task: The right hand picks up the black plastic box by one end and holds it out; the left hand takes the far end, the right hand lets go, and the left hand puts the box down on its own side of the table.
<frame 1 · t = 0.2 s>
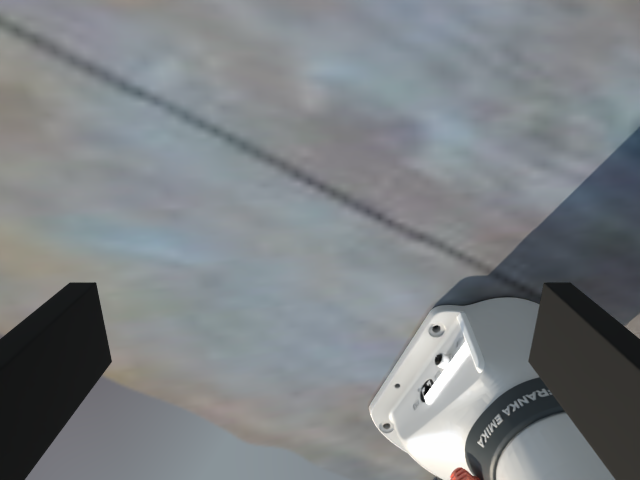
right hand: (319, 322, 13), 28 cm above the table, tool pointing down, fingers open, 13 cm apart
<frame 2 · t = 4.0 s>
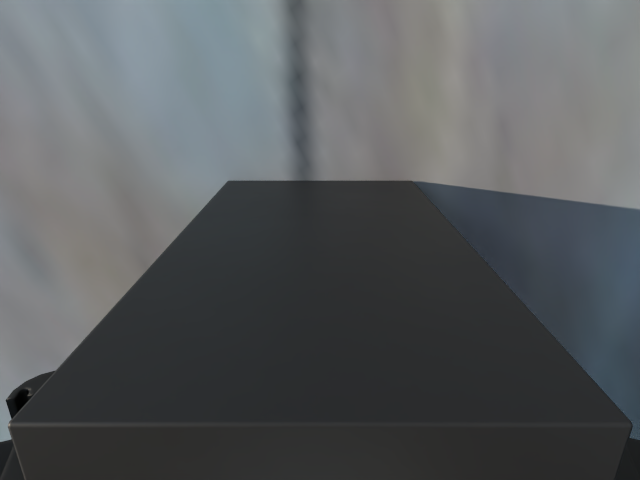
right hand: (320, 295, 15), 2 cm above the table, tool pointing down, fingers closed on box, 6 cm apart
box: (320, 466, 20), on the table, touching right hand
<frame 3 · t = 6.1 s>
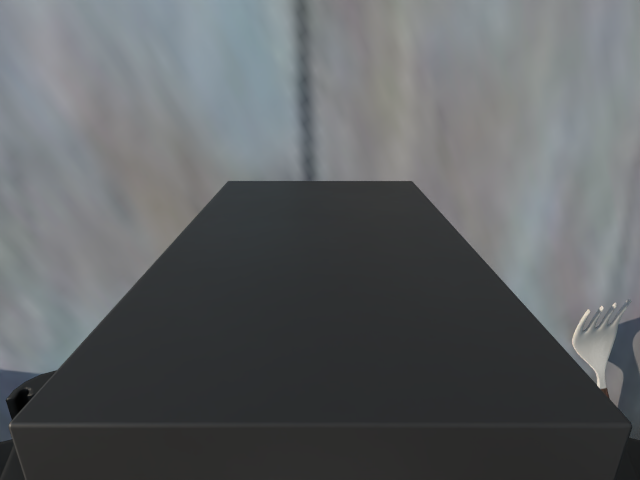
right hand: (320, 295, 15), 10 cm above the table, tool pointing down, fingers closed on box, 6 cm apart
box: (320, 466, 20), point 8 cm above the table, touching right hand
fork: (596, 393, 28), on the table
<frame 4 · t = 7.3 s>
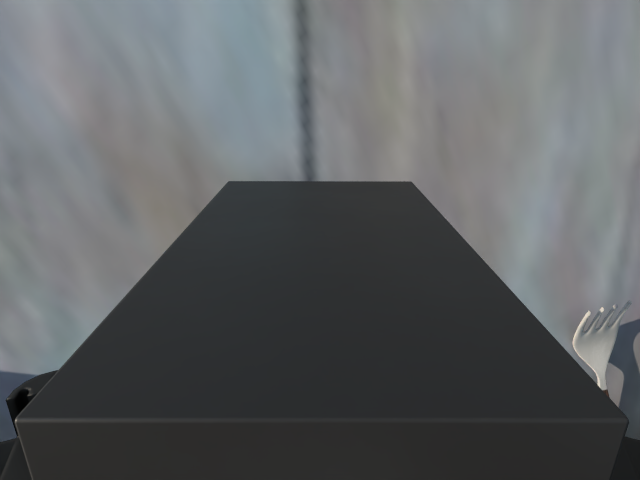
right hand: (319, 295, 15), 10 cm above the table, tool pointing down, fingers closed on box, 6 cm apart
box: (319, 466, 20), point 8 cm above the table, touching right hand, left hand
fork: (597, 395, 28), on the table
when the right hand's fingers open (10 cm above the table, at t = 8.5 s): box stays where it is, held by the left hand.
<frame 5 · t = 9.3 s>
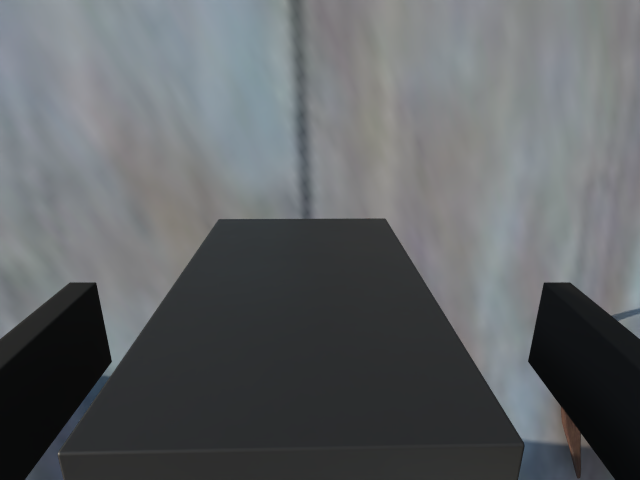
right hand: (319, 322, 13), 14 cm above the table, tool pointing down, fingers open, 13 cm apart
fork: (562, 388, 31), on the table
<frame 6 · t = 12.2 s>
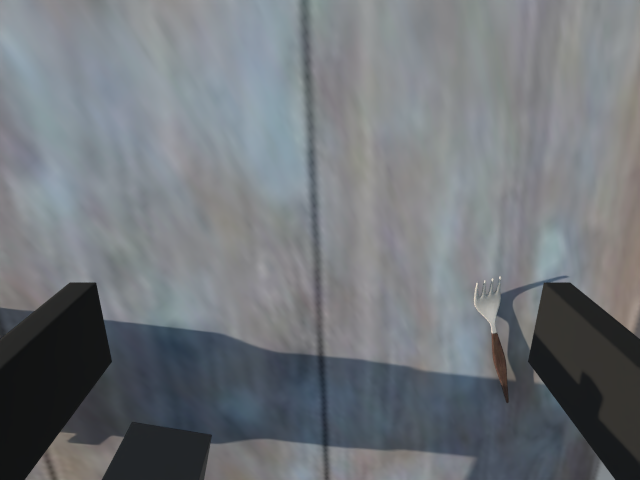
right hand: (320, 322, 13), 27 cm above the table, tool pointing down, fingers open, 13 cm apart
fork: (493, 337, 44), on the table
when the left hand's fingers open (8 cm above the table, at t = 17.1 s): box stays where it is, on the table.
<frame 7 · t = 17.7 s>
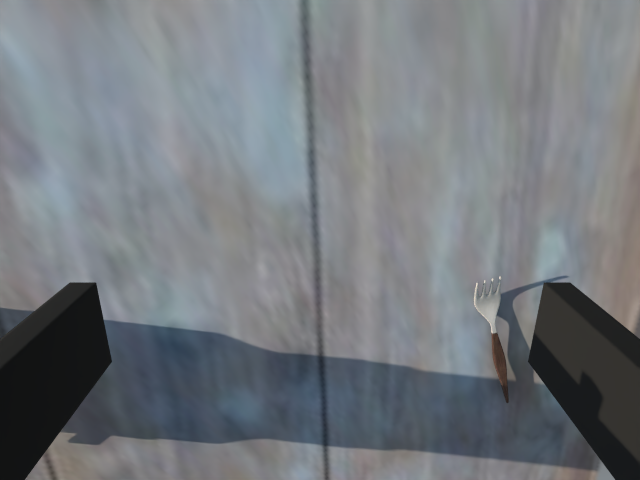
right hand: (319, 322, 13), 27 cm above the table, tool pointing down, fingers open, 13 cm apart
fork: (493, 337, 44), on the table
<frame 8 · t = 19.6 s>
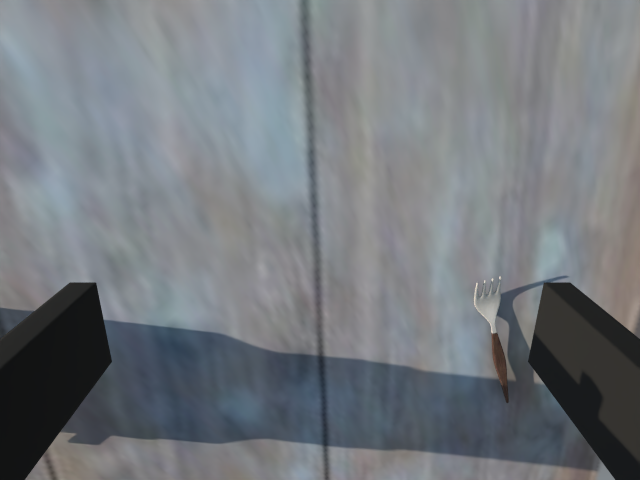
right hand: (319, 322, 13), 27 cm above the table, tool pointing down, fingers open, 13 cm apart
fork: (493, 337, 44), on the table
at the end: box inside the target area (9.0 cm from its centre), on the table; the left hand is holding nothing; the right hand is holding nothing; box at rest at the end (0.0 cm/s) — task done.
